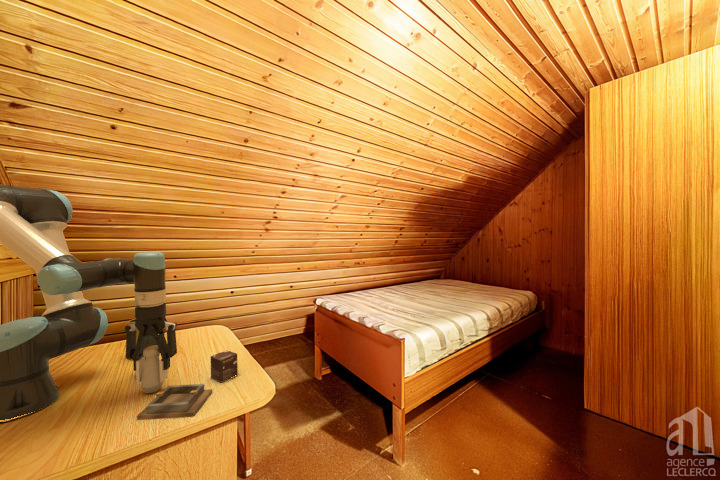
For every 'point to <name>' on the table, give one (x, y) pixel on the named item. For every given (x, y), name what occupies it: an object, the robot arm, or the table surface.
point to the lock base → (176, 402)
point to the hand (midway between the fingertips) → (152, 380)
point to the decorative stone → (149, 343)
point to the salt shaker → (151, 370)
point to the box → (224, 366)
